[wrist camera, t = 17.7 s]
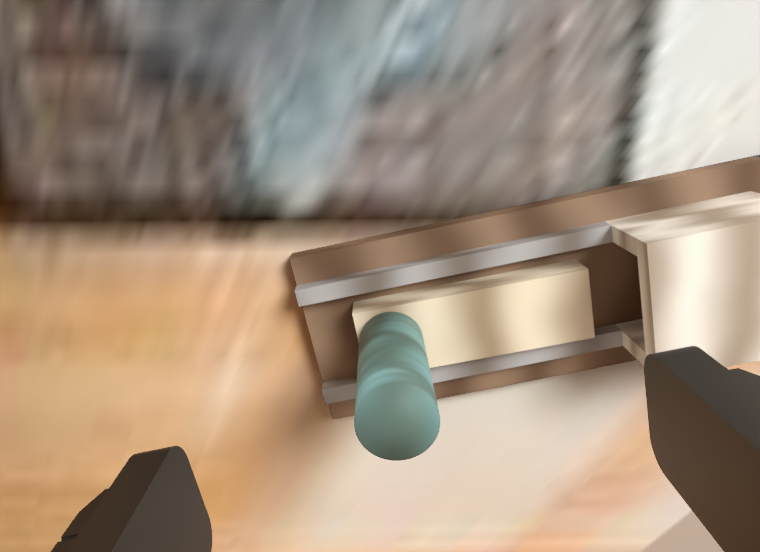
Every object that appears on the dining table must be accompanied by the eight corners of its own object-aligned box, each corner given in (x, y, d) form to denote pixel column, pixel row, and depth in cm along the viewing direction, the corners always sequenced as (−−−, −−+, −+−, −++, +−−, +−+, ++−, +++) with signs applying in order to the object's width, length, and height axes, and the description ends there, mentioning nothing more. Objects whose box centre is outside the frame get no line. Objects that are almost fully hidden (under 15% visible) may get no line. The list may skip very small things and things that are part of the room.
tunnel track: (333, 409, 46) (326, 471, 38) (292, 253, 42) (274, 287, 34) (870, 303, 44) (976, 347, 36) (876, 130, 40) (996, 137, 32)
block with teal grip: (367, 364, 43) (365, 471, 31) (353, 301, 42) (344, 388, 29) (582, 324, 42) (669, 417, 30) (575, 259, 41) (664, 329, 28)
